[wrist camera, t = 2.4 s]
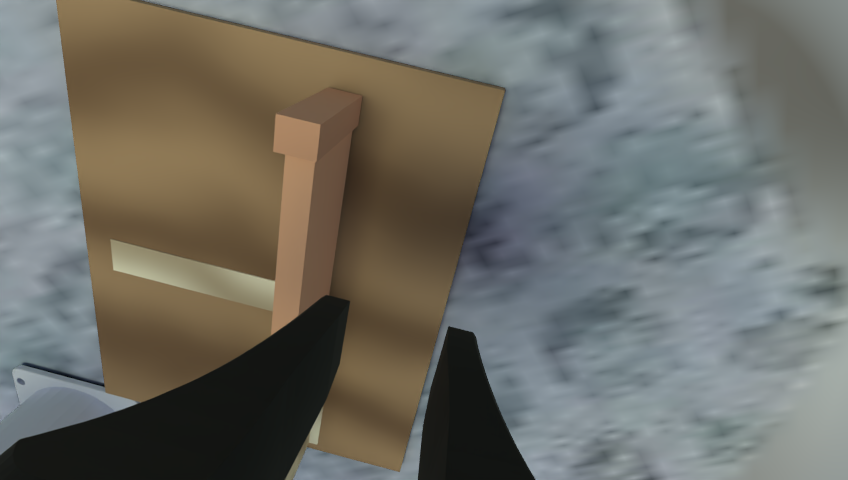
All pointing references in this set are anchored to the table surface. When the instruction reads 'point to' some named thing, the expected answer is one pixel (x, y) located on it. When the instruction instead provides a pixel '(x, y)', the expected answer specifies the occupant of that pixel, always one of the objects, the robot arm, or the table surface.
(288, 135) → the fence panel
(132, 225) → the board
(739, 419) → the table surface
